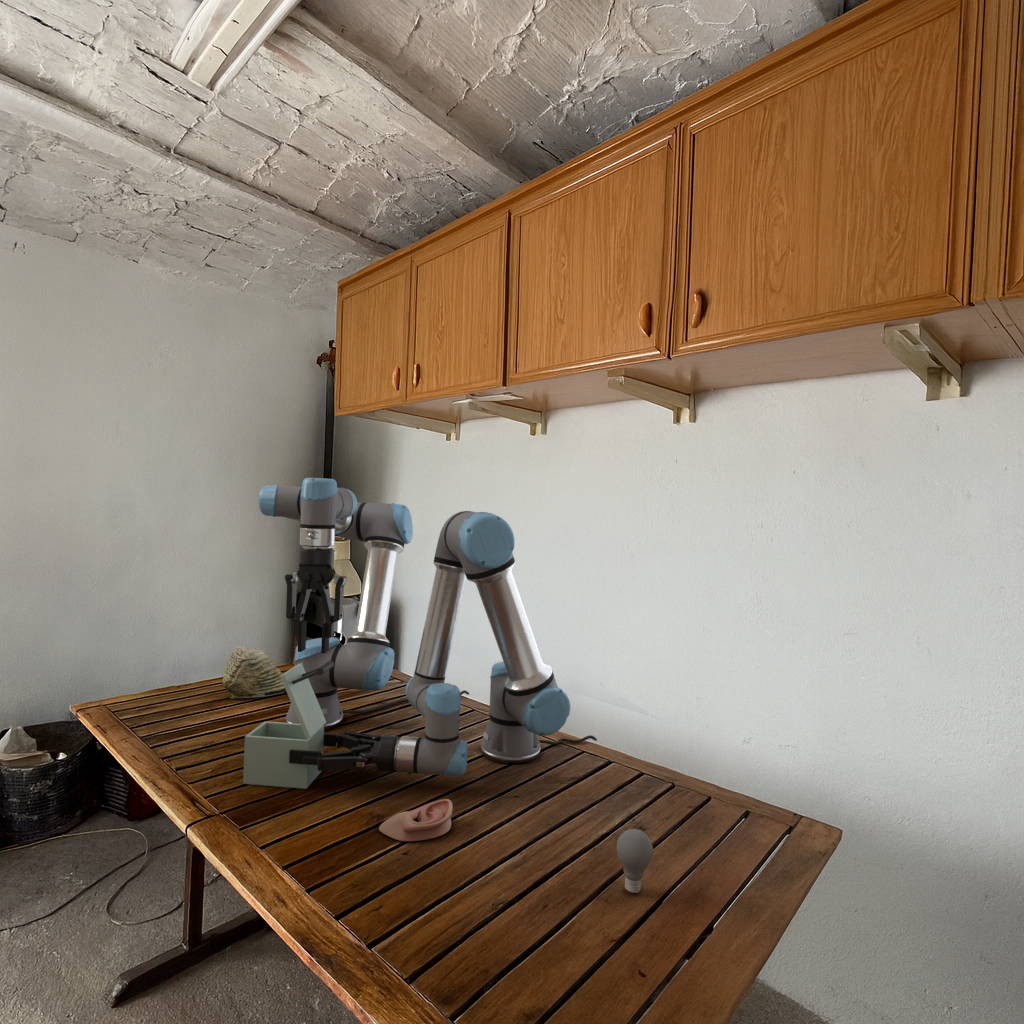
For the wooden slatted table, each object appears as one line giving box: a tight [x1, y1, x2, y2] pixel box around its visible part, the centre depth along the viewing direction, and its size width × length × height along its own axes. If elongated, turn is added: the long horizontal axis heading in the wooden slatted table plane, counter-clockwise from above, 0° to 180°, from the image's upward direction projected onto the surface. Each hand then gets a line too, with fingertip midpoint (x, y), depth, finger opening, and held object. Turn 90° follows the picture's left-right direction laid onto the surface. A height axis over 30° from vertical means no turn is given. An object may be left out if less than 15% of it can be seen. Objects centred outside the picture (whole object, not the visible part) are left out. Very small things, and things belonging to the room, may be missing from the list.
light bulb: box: [615, 828, 654, 894], centre depth 106 cm, size 6×6×10 cm
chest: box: [242, 720, 325, 790], centre depth 142 cm, size 14×10×10 cm
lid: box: [280, 661, 334, 739], centre depth 141 cm, size 15×10×9 cm
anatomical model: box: [378, 798, 454, 842], centre depth 123 cm, size 13×4×12 cm
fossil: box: [222, 646, 286, 699], centre depth 198 cm, size 9×18×15 cm, turn 132°
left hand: (313, 650), depth 142 cm, fingers open, 5 cm apart
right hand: (299, 747), depth 142 cm, fingers closed on chest, 10 cm apart
